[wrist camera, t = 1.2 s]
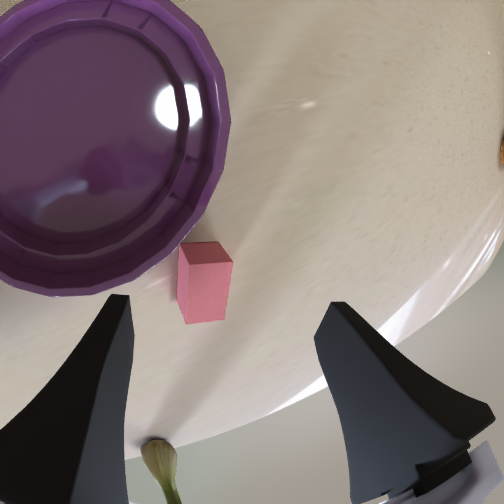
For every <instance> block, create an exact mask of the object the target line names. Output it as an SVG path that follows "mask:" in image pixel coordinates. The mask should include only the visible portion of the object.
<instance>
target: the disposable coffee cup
mask: <svg viewBox="0 0 504 504" xmlns="http://www.w3.org/2000/svg"><path fill="white" fill-rule="evenodd" d="M500 156H501V162H502V163H503V164H504V138H503V141H502V145H501V154H500Z"/></svg>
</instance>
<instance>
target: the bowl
mask: <svg viewBox="0 0 504 504" xmlns="http://www.w3.org/2000/svg"><path fill="white" fill-rule="evenodd" d="M223 71H224V70H223V68H222V66H221V64H220V62H219V60H218V58H217V56H216V55H215V53H214V51H213V49H212V47H211V45H210V43H209V41H208V39H207V37H206V36H205V34H204V32H203V30H202V28H200V26H199V25H198V24H197V23H195V22H194V21H193V20H192V19H191V18H190V17H189V16H188V15H186V14H185V13H184V12H183V11H182V10H181V9H179V8H178V7H177V6H176V5H175V4H174V3H172V2H171V1H170V0H24V1H22V2H20V3H18V4H16V5H14V6H13V7H12V8H11V9H9V10H8V11H7V12H6V13H4V14H3V15H2V16H1V17H0V279H1V280H2V281H4V282H5V283H7V284H8V285H10V286H12V287H15V288H18V289H22V290H26V291H29V292H33V293H37V294H41V295H45V296H49V297H51V296H52V297H65V296H84V295H93V294H97V293H100V292H103V291H105V290H108V289H111V288H114V287H116V286H119V285H122V284H125V283H128V282H131V281H133V280H135V279H137V278H138V277H139V276H141V275H142V274H144V273H145V272H146V271H148V270H149V269H151V268H152V267H153V266H155V265H156V264H158V263H159V262H161V261H162V260H163V259H165V258H166V257H168V256H169V255H171V253H173V251H174V250H175V249H176V248H177V246H178V245H179V244H180V243H181V242H182V240H183V239H184V238H185V237H186V235H187V234H188V233H189V232H190V231H191V229H192V228H193V227H194V226H195V225H196V223H197V222H198V221H199V220H200V219H201V218H202V216H203V214H204V212H205V210H206V207H207V205H208V203H209V201H210V198H211V196H212V194H213V192H214V190H215V188H216V185H217V183H218V181H219V179H220V177H221V175H222V173H223V170H224V164H225V157H226V151H227V144H228V138H229V132H230V126H231V116H230V109H229V103H228V96H227V89H226V82H225V75H224V72H223Z"/></svg>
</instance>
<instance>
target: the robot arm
mask: <svg viewBox="0 0 504 504" xmlns="http://www.w3.org/2000/svg"><path fill="white" fill-rule="evenodd" d="M314 341H315V346H316V351H317V355H318V359H319V362H320V365H321V368H322V370H323V373H324V376H325V378H326V381H327V384H328V386H329V389H330V391H331V394H332V397H333V399H334V402H335V405H336V408H337V411H338V414H339V418H340V422H341V425H342V430H343V434H344V440H345V446H346V451H347V457H348V466H349V475H350V498H351V501H352V504H361V503H363V502H367V501H369V500H372V499H375V498H378V497H380V496H382V495H385V494H388V497H389V499H388V500H386V501H384V502H382V503H379V504H483V502H484V501H485V500H486V498H487V497H488V496H489V495H490V494H491V493H492V492H493V490H494V489H495V488H496V487H497V486H498V485H499V484H500V483H501V482H502V481H503V480H504V477H503V474H502V472H501V470H500V468H499V465H498V463H497V460H496V458H495V456H494V454H493V451H492V449H491V447H490V445H489V443H488V441H485V442H483V443H482V444H480V445H479V446H477V447H476V448H474V449H473V450H472V451H471V452H469V453H468V451H467V449H468V448H470V446H471V445H470V443H469V440H470V439H471V438H473V437H475V436H476V435H477V434H479V433H480V432H481V431H483V430H484V429H485V428H487V427H488V426H489V425H490V424H492V423H493V422H494V421H495V419H496V418H495V416H494V414H493V412H492V411H491V409H490V407H489V406H488V404H486V403H484V402H481V401H479V400H476V399H474V398H471V397H469V396H466V395H464V394H462V393H460V392H458V391H456V390H454V389H452V388H450V387H449V386H447V385H445V384H443V383H442V382H440V381H438V380H437V379H435V378H434V377H432V376H431V375H429V374H427V373H426V372H425V371H423V370H422V369H421V368H419V367H418V366H417V365H415V364H414V363H413V362H411V361H410V360H409V359H407V358H406V357H405V356H404V355H403V354H402V353H400V352H399V351H398V350H397V349H396V348H395V347H393V346H392V345H391V344H390V343H389V342H388V341H387V340H386V339H385V338H384V337H382V336H381V335H380V334H379V333H378V332H377V331H376V330H375V329H374V328H373V327H372V326H371V325H370V324H369V323H368V322H367V321H366V320H364V319H363V318H362V317H361V316H360V315H359V314H358V313H357V312H356V311H355V310H354V309H353V308H351V307H350V306H349V305H348V304H347V303H346V302H331V303H330V305H329V307H328V309H327V311H326V313H325V316H324V318H323V320H322V322H321V324H320V326H319V328H318V330H317V332H316V334H315V336H314ZM133 350H134V329H133V322H132V314H131V306H130V297H129V295H119V294H111V295H110V296H109V297H108V299H107V301H106V302H105V304H104V306H103V307H102V309H101V310H100V312H99V314H98V315H97V317H96V318H95V320H94V321H93V323H92V324H91V326H90V327H89V329H88V330H87V332H86V333H85V334H84V336H83V337H82V339H81V340H80V342H79V343H78V345H77V346H76V347H75V349H74V350H73V351H72V353H71V354H70V355H69V357H68V358H67V359H66V361H65V362H64V363H63V365H62V366H61V367H60V369H59V370H58V371H57V372H56V374H55V375H54V376H53V377H52V378H51V379H50V381H49V382H48V383H47V384H46V385H45V387H44V388H43V389H42V390H41V391H40V392H39V393H38V394H37V395H36V396H35V397H34V399H33V400H32V401H31V402H30V403H29V404H28V405H27V406H26V407H25V408H24V409H23V410H22V411H20V412H19V413H18V414H17V415H16V416H15V417H14V418H13V419H12V420H11V421H10V422H9V423H8V424H7V425H5V426H4V427H3V428H2V429H1V430H0V504H129V502H128V495H127V486H126V476H125V460H124V417H125V409H126V401H127V394H128V388H129V381H130V375H131V369H132V363H133Z"/></svg>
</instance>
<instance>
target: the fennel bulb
mask: <svg viewBox="0 0 504 504" xmlns="http://www.w3.org/2000/svg"><path fill="white" fill-rule="evenodd" d="M141 454H142V459H143V461H144V464H145V466H146V468H147V469H148V471H149V472H150V474H151V475H152V476H153V478H154V479H155V480H156V482H157V483H158V484H159V486H160V487H161V489H162V490H163V492H164V495H165V498H166V501H167V504H182V503H181V500H180V497H179V494H178V492H177V488H176V484H175V475H176V468H177V454H176V451H175V449H174V448H173V446H172V445H171V444H170V443H168V442H166V441H165V440H151V441H149V442H148V443H146V444H144V445H143V446H142V448H141Z"/></svg>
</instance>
